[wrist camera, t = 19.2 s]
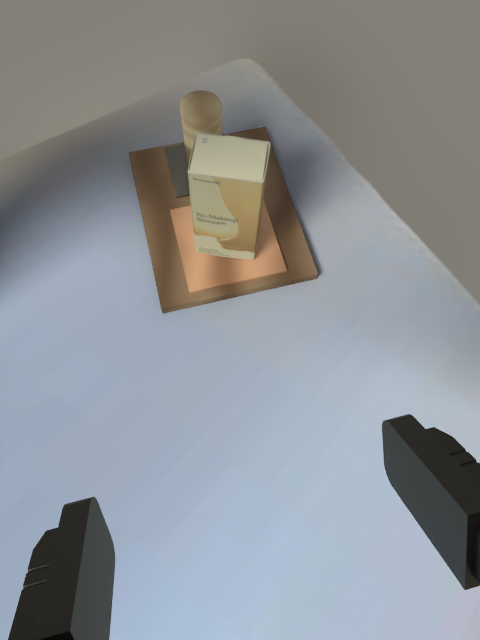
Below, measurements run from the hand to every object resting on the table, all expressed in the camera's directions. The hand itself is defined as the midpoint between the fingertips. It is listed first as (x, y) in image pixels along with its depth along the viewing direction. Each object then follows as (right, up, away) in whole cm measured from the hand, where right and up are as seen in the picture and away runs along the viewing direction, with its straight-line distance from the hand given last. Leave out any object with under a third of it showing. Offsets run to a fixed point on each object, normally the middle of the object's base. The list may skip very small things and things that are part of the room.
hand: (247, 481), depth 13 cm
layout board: (-3, +16, +38) cm, 41 cm away
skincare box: (-1, +13, +35) cm, 37 cm away
